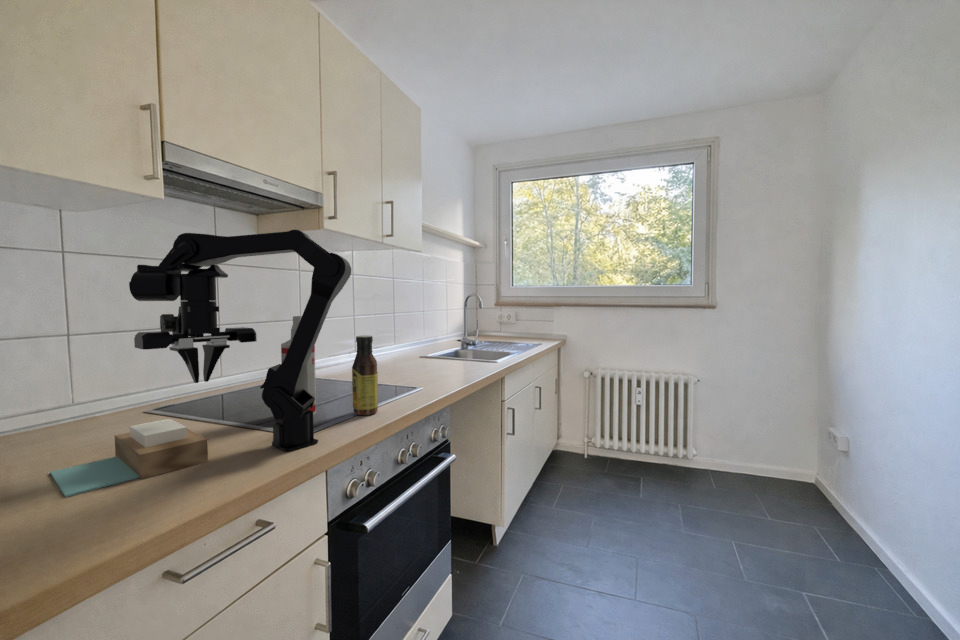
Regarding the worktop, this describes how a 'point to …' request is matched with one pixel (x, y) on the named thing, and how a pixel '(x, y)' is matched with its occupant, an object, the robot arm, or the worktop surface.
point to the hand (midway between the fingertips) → (201, 382)
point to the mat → (92, 476)
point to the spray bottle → (310, 367)
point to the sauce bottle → (365, 378)
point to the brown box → (161, 454)
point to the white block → (158, 432)
